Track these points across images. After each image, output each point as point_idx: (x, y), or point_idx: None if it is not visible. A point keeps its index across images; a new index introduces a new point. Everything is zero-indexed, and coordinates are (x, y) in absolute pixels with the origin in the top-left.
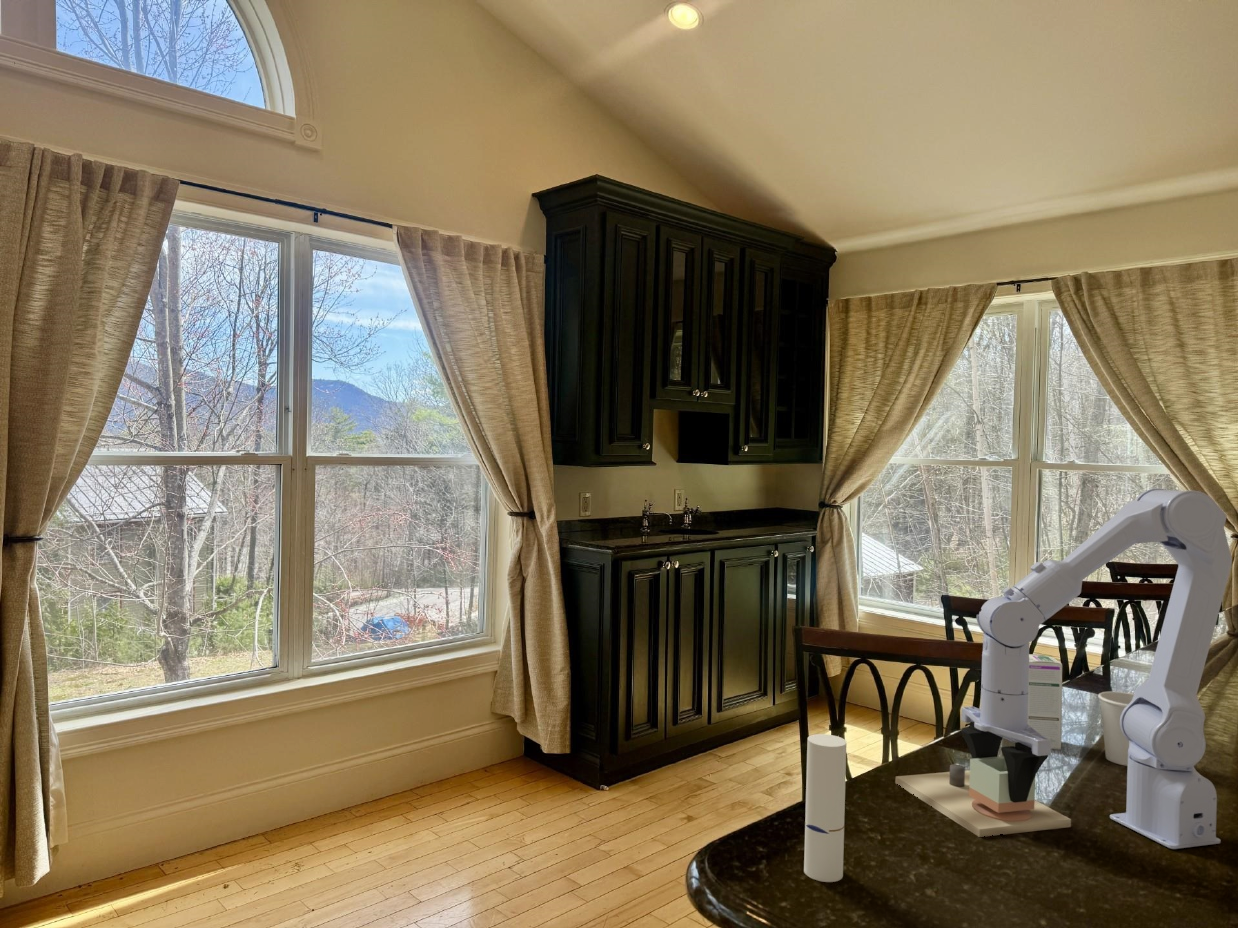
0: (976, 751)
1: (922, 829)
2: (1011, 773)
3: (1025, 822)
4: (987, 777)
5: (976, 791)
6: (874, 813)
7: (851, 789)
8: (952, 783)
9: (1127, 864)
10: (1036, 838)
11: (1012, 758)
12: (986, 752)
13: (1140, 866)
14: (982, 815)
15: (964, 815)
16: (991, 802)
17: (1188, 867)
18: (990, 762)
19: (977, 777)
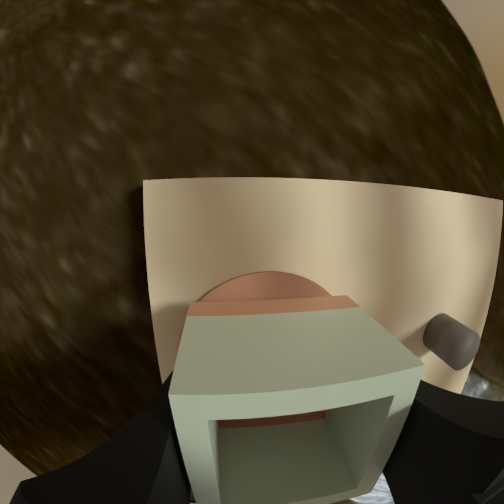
0: (435, 418)
1: (240, 48)
2: (133, 437)
3: (167, 362)
4: (271, 358)
5: (319, 309)
6: (358, 11)
7: (474, 75)
8: (440, 316)
9: (28, 406)
10: (122, 342)
11: (38, 486)
12: (410, 454)
13: (26, 416)
14: (240, 267)
15: (253, 201)
16: (227, 309)
17: (41, 461)
18: (368, 438)
19: (337, 337)
